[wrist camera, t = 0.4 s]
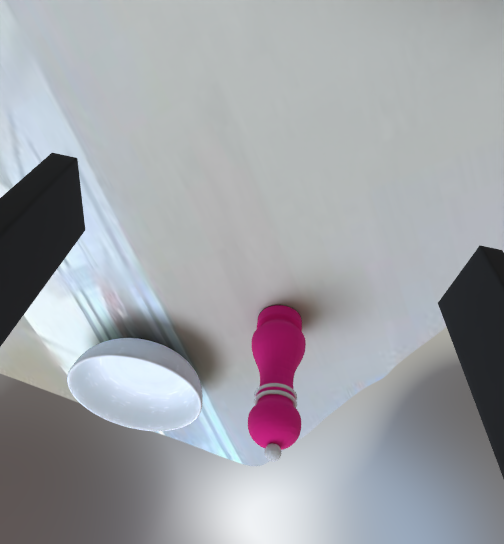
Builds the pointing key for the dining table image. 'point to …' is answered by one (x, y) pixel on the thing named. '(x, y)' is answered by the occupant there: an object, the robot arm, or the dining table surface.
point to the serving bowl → (137, 384)
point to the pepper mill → (276, 379)
